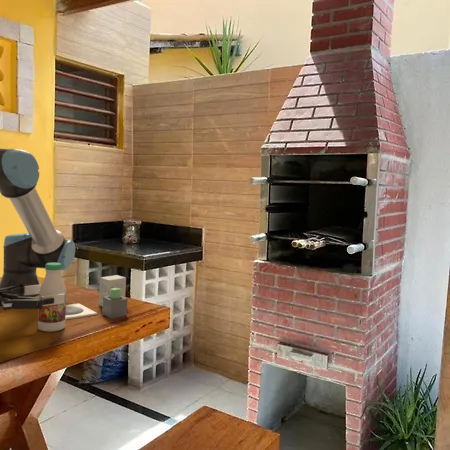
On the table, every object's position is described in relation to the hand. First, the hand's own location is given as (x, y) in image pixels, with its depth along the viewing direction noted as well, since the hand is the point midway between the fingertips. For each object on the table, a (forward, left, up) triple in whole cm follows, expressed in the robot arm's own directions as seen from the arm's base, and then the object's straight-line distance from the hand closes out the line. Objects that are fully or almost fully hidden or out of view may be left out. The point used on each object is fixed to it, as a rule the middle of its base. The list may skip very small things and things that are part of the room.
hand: (54, 293), depth 140 cm
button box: (-3, +23, -11) cm, 25 cm away
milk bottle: (0, 0, -11) cm, 11 cm away
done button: (-3, +23, -7) cm, 24 cm away
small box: (-14, +28, -11) cm, 33 cm away
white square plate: (-13, +11, -11) cm, 20 cm away
